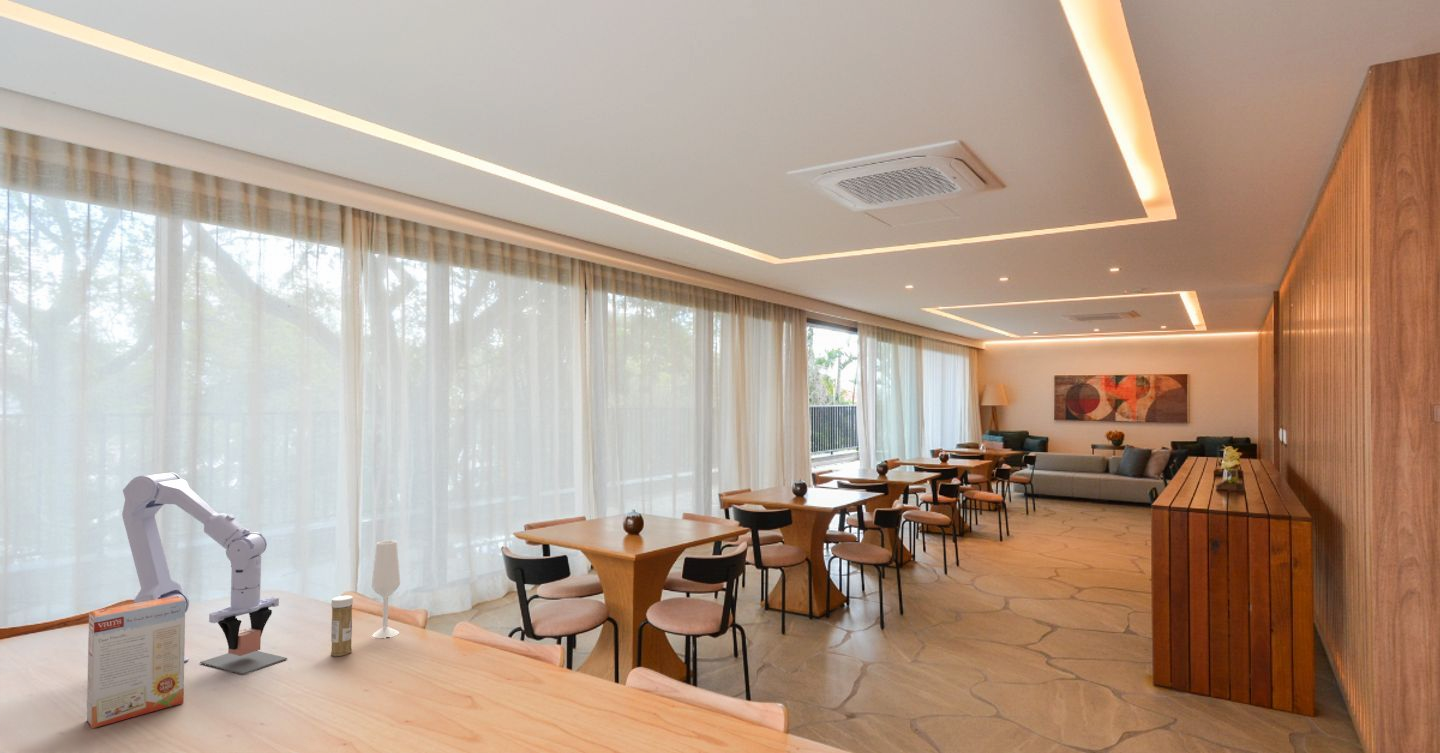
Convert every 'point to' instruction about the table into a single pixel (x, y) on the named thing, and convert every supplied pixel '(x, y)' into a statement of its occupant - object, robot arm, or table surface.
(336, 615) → the sprinkles bottle
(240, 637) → the lettered cube
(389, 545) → the champagne flute
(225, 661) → the charcoal mat
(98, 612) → the cracker box
